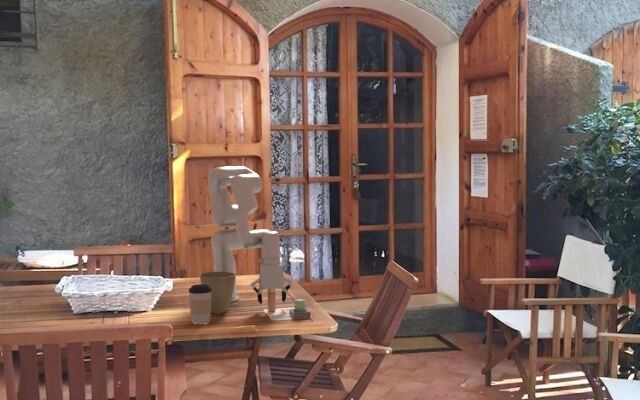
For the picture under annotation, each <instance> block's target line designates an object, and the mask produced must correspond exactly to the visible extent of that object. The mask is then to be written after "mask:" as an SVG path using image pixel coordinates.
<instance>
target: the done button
mask: <svg viewBox="0 0 640 400" xmlns="http://www.w3.org/2000/svg"><path fill="white" fill-rule="evenodd" d="M293 301H294V302H293V304H294V306H293V307H294V312H305V308H306V300H305V299H304V298H303V299H301V298H297V299H294V300H293Z"/></svg>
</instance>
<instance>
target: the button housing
mask: <svg viewBox="0 0 640 400" xmlns="http://www.w3.org/2000/svg"><path fill="white" fill-rule="evenodd" d="M289 310H290V316H291V317H292V318H293V319H292V320H297V319H298V320H299V318H301V319H312V318H311V317H312V315H311V311H310V310H309V309H308V308H307V307H305V312H294V309H289Z"/></svg>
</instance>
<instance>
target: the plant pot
mask: <svg viewBox="0 0 640 400" xmlns="http://www.w3.org/2000/svg"><path fill="white" fill-rule="evenodd" d="M236 275H237V273H236V274H235V273H232V272H224V271H216V272H214V271H208V272H203V273H200V274H199V280H200V284H204V285H209V287H210V288H212V289H211V290H212V291H211V312H210V314H212V313H215V314H214V315H221V313H226V312H227V311H228V310H229V308H230V305H231V303H232V302H231V298H232V294H233V290H234V284H235V278H237V277H236Z"/></svg>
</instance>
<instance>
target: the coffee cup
mask: <svg viewBox="0 0 640 400" xmlns="http://www.w3.org/2000/svg"><path fill="white" fill-rule="evenodd" d="M211 289H212V288H210V287H209V285H204V284H201V283H199V284H194V285H191V286H190V287H189V289H188V294H189V297H188V299H189V307H190V310H189V311H190V313H191V323H197V324H203V325H205V324H204V323H208V324H210V323H211V313H210V312H211V291H212V290H211ZM209 322H210V323H209Z"/></svg>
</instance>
